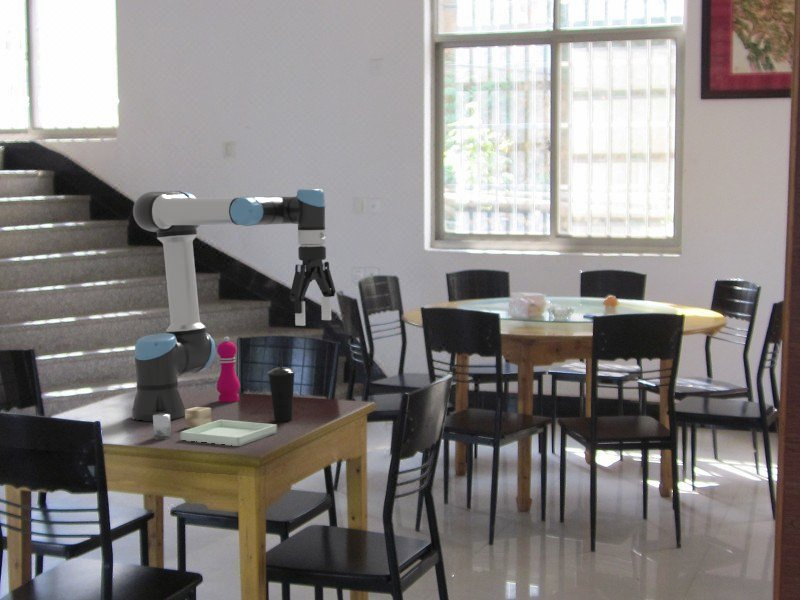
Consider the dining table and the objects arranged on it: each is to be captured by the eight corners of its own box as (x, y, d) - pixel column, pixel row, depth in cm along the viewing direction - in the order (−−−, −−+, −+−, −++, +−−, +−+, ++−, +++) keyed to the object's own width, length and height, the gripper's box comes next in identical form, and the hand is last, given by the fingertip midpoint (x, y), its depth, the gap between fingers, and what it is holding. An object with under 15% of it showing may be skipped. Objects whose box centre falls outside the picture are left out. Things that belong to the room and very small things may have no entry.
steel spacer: (150, 438, 284) (149, 416, 284) (161, 435, 288) (160, 413, 288) (163, 440, 282) (162, 417, 282) (174, 436, 286) (173, 414, 286)
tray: (180, 440, 281) (179, 431, 281) (220, 427, 296) (220, 419, 296) (238, 446, 273) (238, 437, 272) (277, 432, 288) (277, 424, 287)
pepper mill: (221, 398, 341) (218, 335, 339) (243, 398, 340) (241, 334, 338) (214, 402, 334) (211, 338, 332) (236, 402, 333) (234, 337, 331)
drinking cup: (271, 417, 309) (269, 347, 307) (298, 416, 308) (296, 346, 306) (267, 422, 301) (264, 351, 299) (295, 422, 301) (292, 350, 299)
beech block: (185, 428, 298) (184, 409, 297) (197, 424, 302) (196, 406, 301) (200, 429, 295) (199, 411, 295) (211, 425, 300) (211, 407, 299)
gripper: (299, 247, 285) (300, 328, 287) (346, 243, 307) (348, 318, 309) (275, 247, 289) (277, 327, 291) (323, 243, 311) (325, 317, 313)
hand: (313, 322), depth 300 cm, fingers open, 13 cm apart
